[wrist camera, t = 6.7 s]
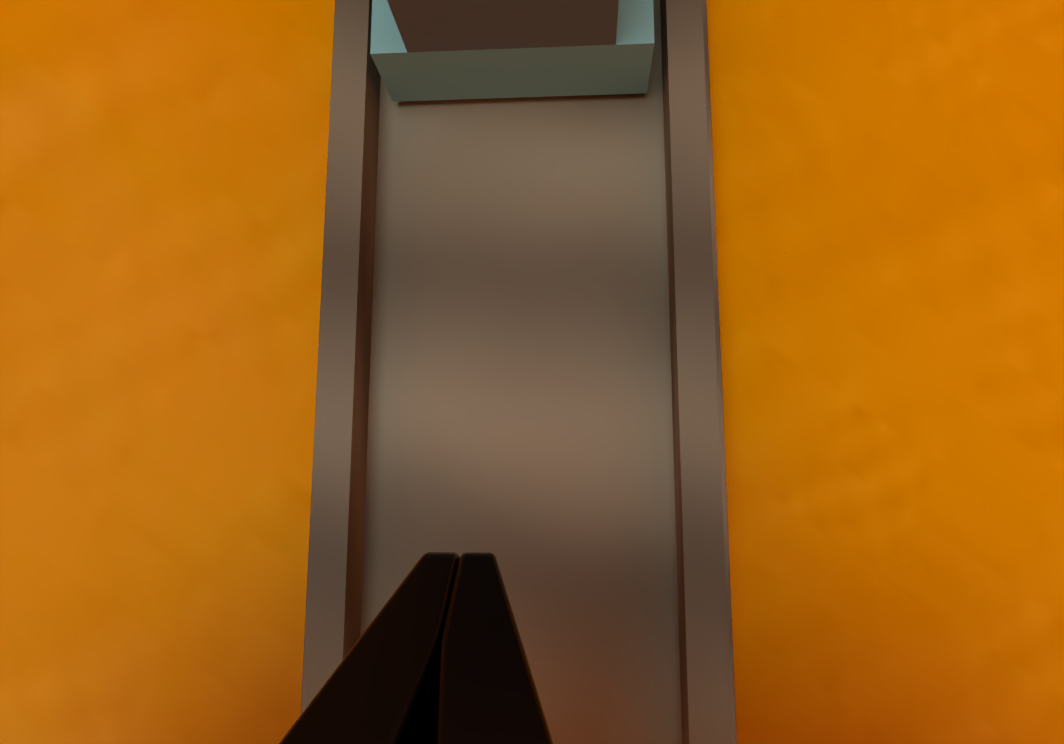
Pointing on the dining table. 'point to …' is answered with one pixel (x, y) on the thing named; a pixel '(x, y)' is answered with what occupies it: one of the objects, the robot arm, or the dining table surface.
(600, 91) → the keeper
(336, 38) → the rail
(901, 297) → the dining table surface
